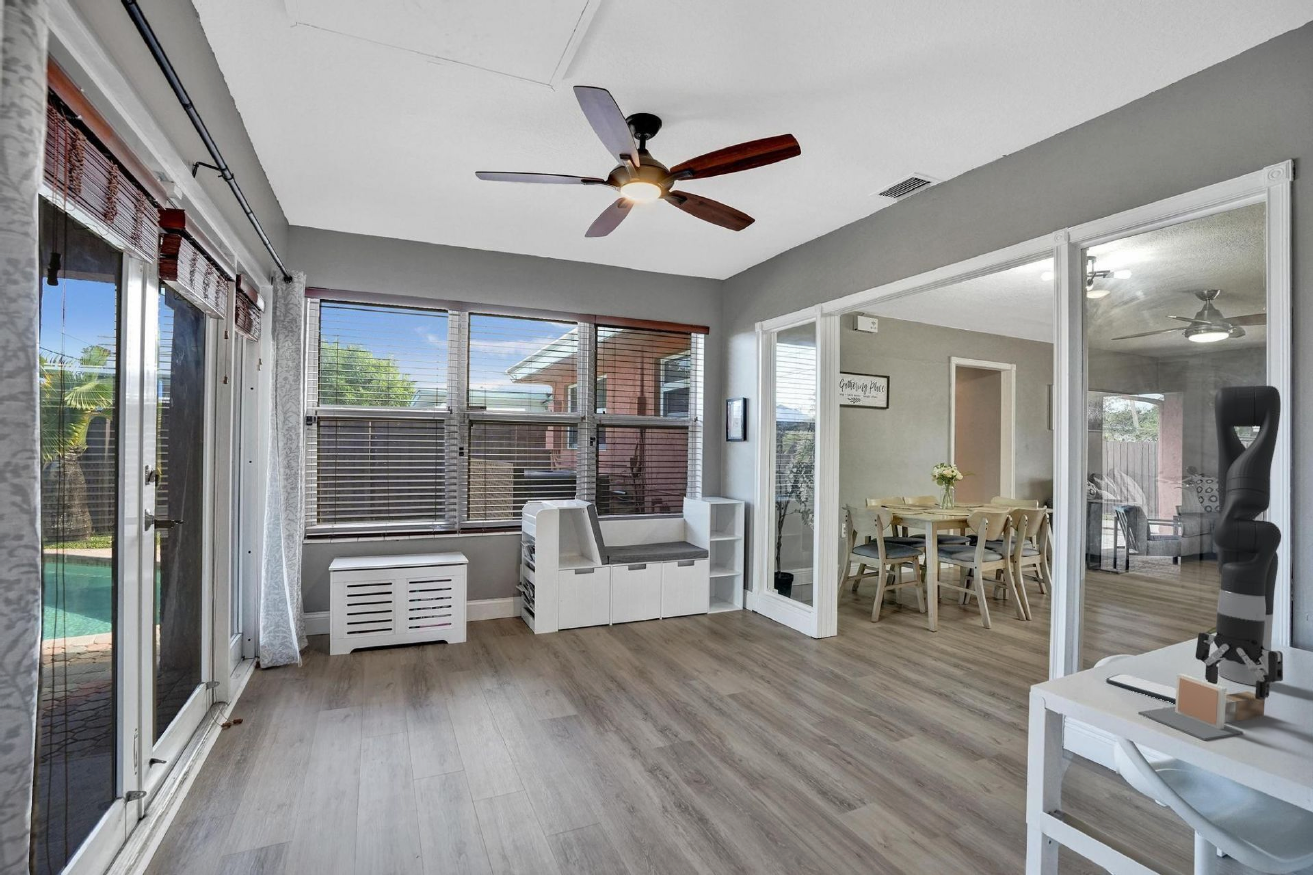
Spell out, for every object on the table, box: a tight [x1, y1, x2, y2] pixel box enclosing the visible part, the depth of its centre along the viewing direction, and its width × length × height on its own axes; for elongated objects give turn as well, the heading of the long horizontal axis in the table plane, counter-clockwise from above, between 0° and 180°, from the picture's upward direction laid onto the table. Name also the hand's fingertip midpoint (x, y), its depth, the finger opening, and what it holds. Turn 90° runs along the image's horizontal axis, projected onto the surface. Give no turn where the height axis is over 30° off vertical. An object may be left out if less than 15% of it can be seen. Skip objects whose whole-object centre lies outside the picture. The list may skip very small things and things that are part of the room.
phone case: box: [1105, 673, 1176, 705], centre depth 149 cm, size 9×2×16 cm
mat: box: [1138, 706, 1244, 742], centre depth 132 cm, size 12×12×1 cm
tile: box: [1174, 673, 1227, 729], centre depth 133 cm, size 2×8×8 cm, turn 21°
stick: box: [1224, 691, 1266, 723], centre depth 138 cm, size 14×3×4 cm, turn 111°
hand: (1235, 690), depth 137 cm, fingers open, 8 cm apart
